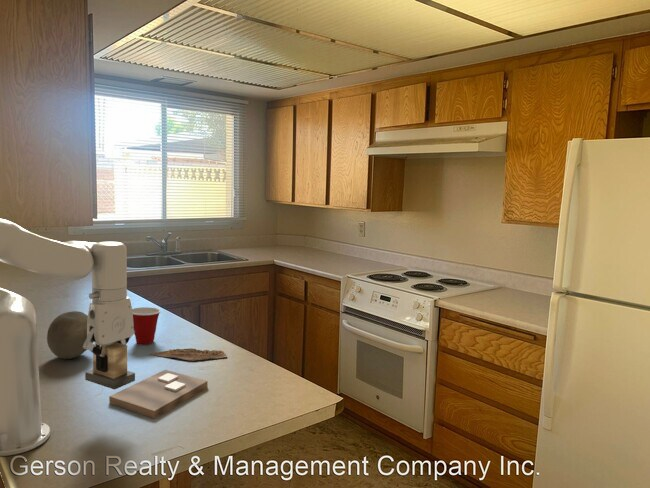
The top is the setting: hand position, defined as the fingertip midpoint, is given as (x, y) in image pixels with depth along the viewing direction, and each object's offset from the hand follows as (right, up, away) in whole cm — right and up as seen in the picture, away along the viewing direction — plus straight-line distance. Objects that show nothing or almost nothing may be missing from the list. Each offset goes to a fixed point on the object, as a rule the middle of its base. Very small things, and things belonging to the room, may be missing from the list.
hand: (110, 366), depth 117 cm
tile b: (+7, -9, +21) cm, 24 cm away
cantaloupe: (-30, -7, +40) cm, 51 cm away
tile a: (+11, -10, +16) cm, 22 cm away
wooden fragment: (+7, -8, +45) cm, 46 cm away
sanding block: (0, -3, 0) cm, 3 cm away
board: (+7, -12, +16) cm, 21 cm away
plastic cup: (-12, -6, +56) cm, 57 cm away
